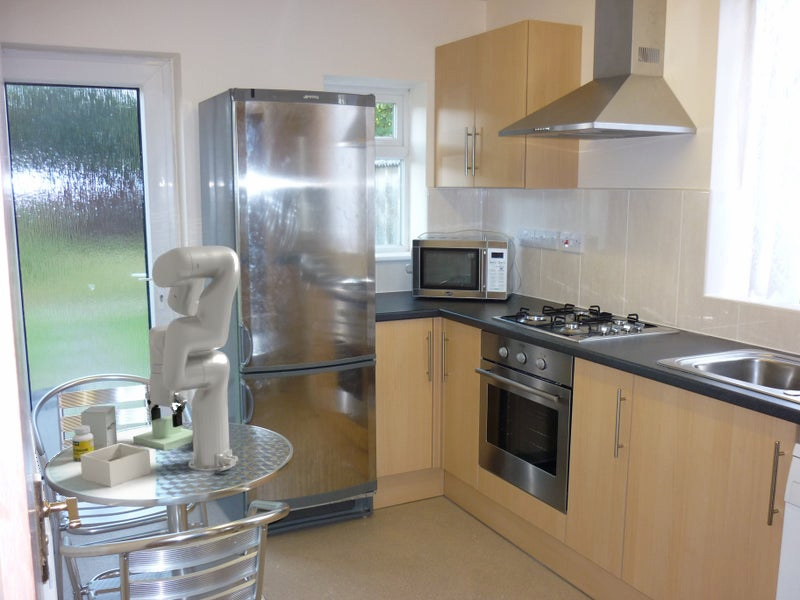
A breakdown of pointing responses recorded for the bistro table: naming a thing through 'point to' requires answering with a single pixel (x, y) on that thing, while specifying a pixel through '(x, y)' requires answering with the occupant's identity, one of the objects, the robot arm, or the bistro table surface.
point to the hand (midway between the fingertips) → (166, 423)
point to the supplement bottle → (82, 442)
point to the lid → (164, 435)
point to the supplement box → (101, 425)
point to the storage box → (115, 464)
